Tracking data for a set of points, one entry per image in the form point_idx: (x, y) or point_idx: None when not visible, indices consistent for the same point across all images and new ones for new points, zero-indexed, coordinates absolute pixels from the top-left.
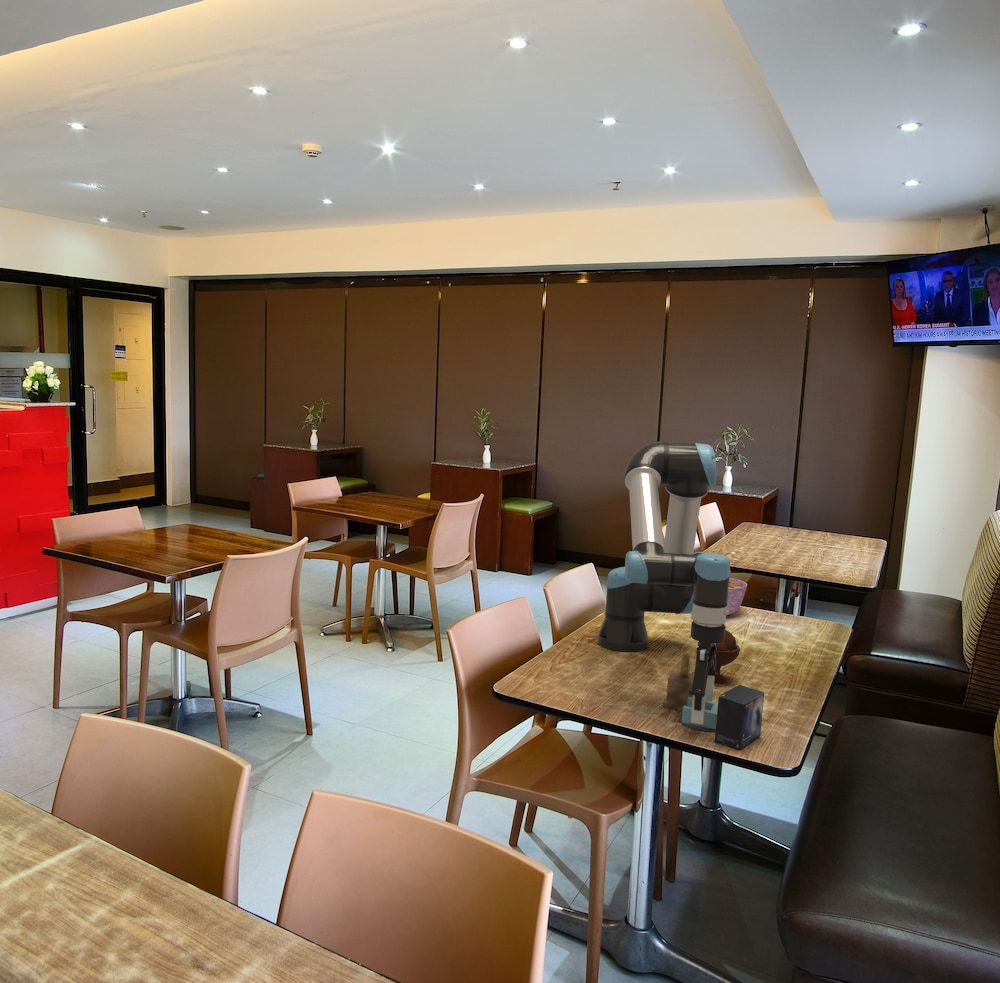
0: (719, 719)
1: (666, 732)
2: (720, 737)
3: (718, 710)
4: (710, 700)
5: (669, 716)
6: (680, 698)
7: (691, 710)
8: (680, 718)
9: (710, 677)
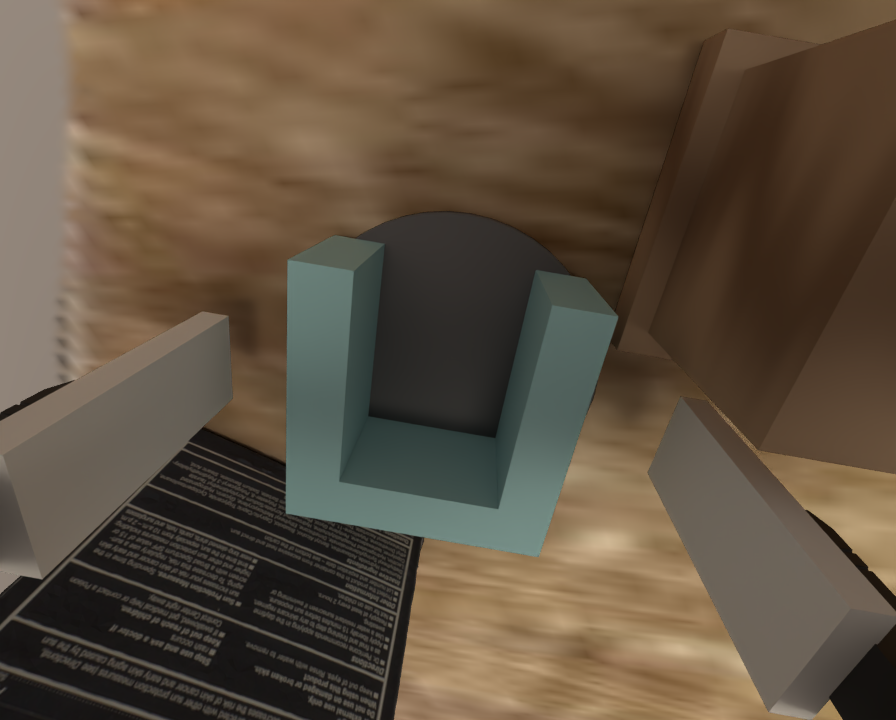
0: None
1: (150, 114)
2: None
3: (3, 592)
4: (658, 475)
5: (484, 125)
6: (716, 223)
7: (289, 335)
8: (413, 222)
9: (781, 668)
